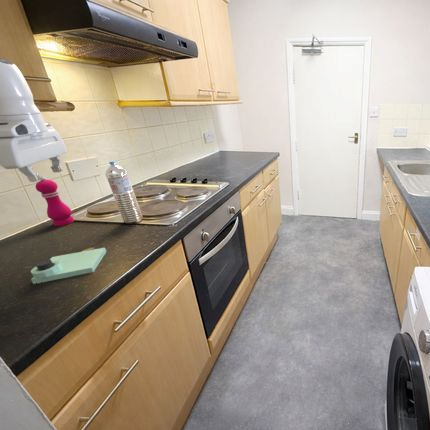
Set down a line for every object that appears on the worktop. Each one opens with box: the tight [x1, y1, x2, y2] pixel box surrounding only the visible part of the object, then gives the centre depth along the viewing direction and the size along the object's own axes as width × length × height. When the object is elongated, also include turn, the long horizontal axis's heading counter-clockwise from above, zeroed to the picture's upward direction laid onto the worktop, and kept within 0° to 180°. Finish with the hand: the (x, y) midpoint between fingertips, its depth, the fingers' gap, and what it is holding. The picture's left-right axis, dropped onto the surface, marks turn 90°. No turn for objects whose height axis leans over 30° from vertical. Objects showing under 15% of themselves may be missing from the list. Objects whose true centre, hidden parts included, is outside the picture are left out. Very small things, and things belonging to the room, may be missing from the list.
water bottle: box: [104, 160, 144, 225], centre depth 105 cm, size 7×7×25 cm
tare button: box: [35, 259, 54, 271], centre depth 76 cm, size 3×3×2 cm
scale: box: [30, 247, 108, 285], centre depth 81 cm, size 14×13×4 cm
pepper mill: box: [35, 175, 75, 227], centre depth 106 cm, size 7×7×20 cm
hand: (47, 176), depth 76 cm, fingers open, 8 cm apart
